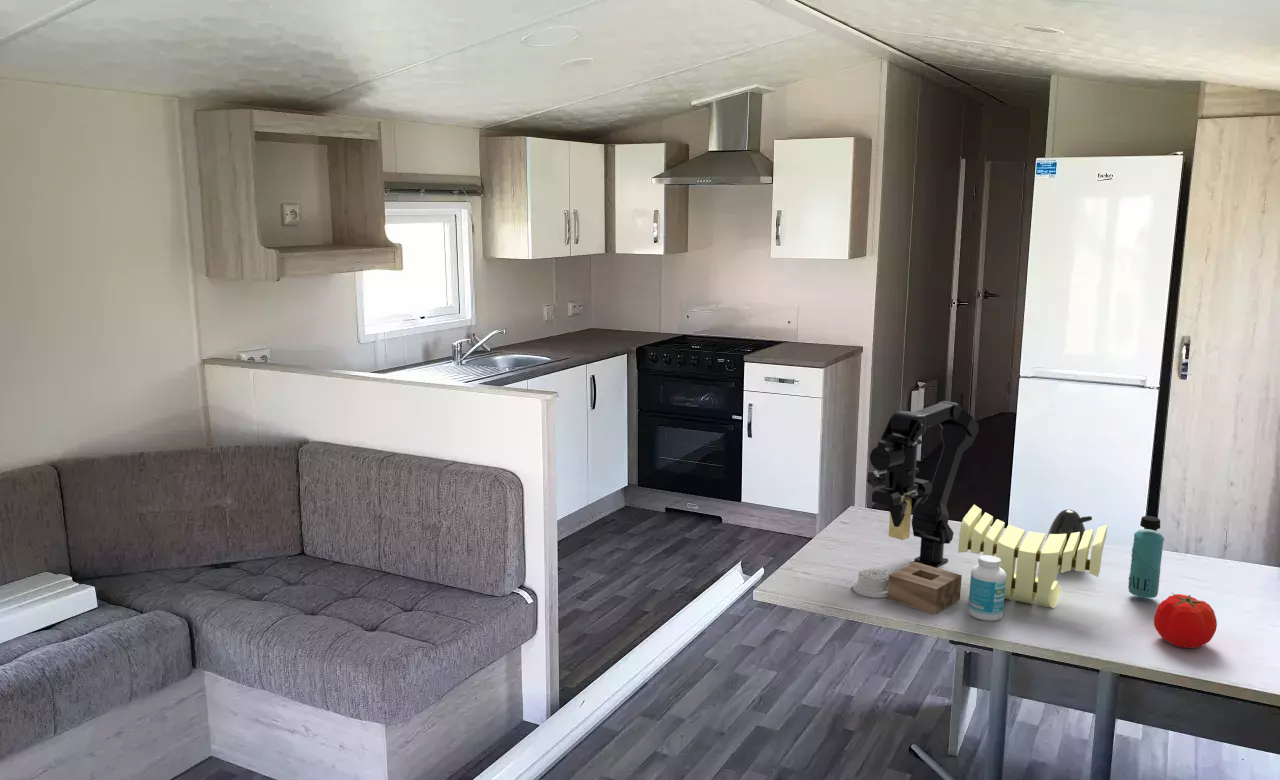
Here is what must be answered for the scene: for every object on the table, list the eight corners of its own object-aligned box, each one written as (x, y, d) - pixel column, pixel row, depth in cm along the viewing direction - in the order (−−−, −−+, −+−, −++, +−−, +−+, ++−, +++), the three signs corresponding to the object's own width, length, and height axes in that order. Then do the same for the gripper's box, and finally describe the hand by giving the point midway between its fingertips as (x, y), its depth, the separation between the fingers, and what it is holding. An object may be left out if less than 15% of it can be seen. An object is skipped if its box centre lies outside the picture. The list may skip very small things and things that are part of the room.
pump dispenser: (1084, 577, 240) (1089, 518, 237) (1039, 569, 246) (1044, 511, 243) (1089, 564, 249) (1095, 508, 246) (1046, 557, 254) (1051, 501, 251)
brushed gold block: (895, 533, 241) (897, 494, 239) (909, 537, 238) (912, 498, 236) (888, 536, 239) (891, 497, 237) (902, 540, 236) (905, 500, 234)
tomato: (1146, 628, 211) (1151, 583, 209) (1205, 635, 208) (1211, 589, 206) (1158, 651, 200) (1163, 604, 198) (1220, 659, 197) (1226, 611, 195)
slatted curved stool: (955, 593, 229) (960, 522, 226) (969, 572, 243) (974, 504, 240) (1093, 620, 215) (1101, 544, 212) (1100, 596, 228) (1107, 524, 225)
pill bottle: (998, 625, 212) (1003, 566, 210) (964, 617, 216) (968, 560, 214) (1006, 613, 219) (1010, 556, 216) (972, 606, 222) (976, 550, 220)
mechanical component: (852, 597, 228) (896, 600, 226) (853, 579, 227) (897, 583, 225) (852, 581, 237) (894, 584, 235) (853, 564, 237) (895, 567, 234)
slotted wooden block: (913, 585, 234) (915, 561, 233) (960, 599, 226) (961, 575, 225) (887, 599, 226) (889, 574, 225) (935, 614, 218) (936, 589, 217)
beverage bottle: (1155, 595, 229) (1164, 514, 225) (1160, 606, 223) (1169, 523, 219) (1124, 591, 231) (1133, 511, 227) (1128, 602, 225) (1137, 520, 221)
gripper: (895, 451, 247) (892, 510, 250) (853, 463, 235) (850, 525, 238) (935, 459, 239) (931, 520, 242) (893, 473, 227) (889, 536, 230)
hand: (899, 525), depth 238 cm, fingers closed on brushed gold block, 3 cm apart
